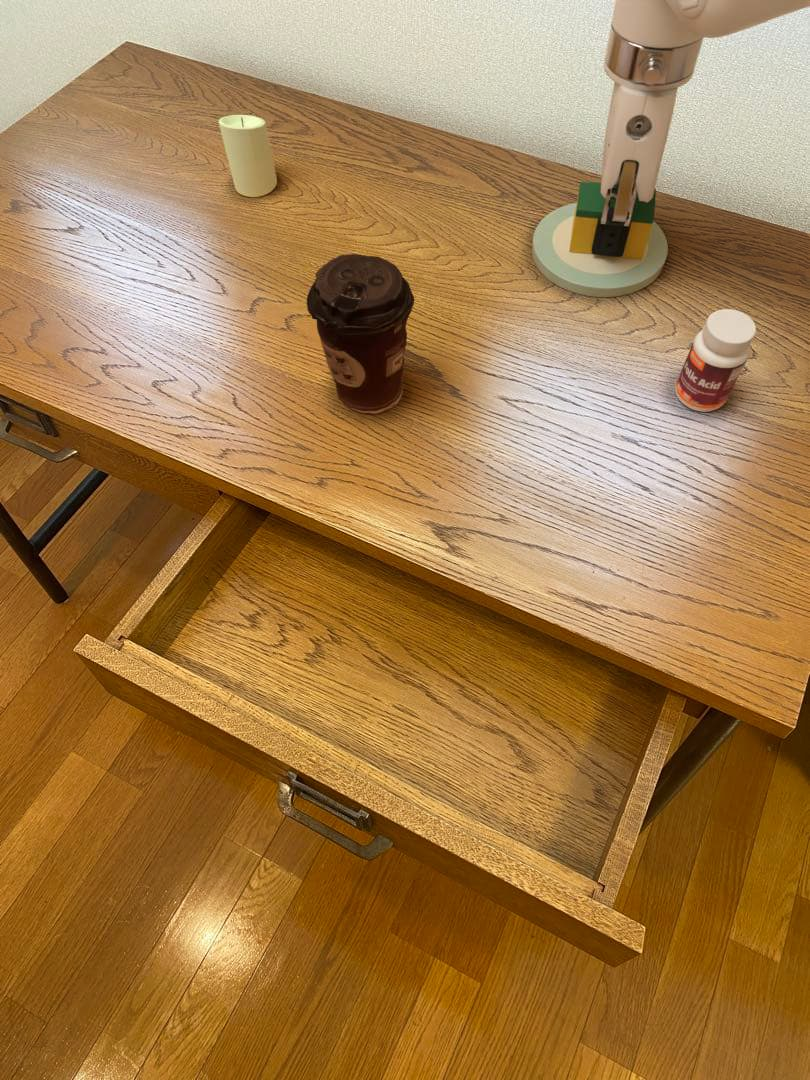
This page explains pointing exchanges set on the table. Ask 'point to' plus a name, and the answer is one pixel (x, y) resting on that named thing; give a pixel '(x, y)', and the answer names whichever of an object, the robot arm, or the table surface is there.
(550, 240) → the plate
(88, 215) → the table surface
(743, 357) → the pill bottle
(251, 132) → the candle
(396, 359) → the coffee cup
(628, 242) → the sponge
